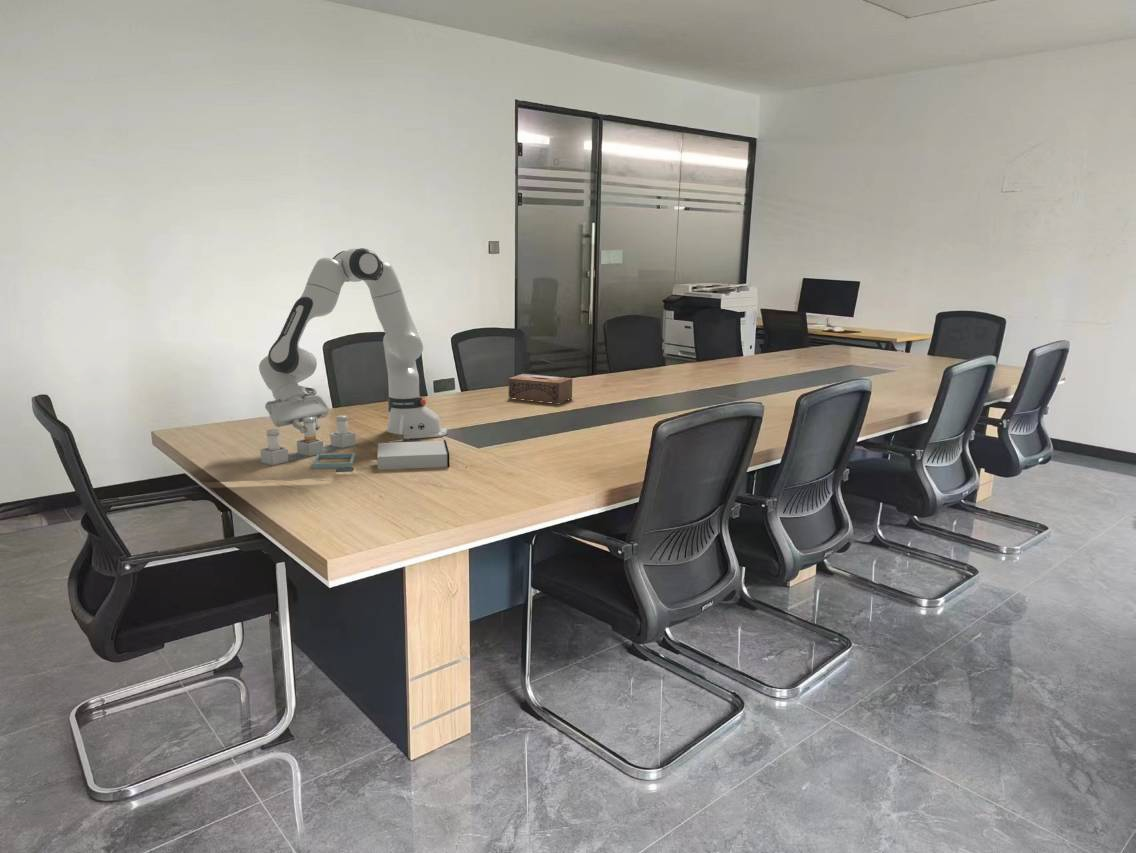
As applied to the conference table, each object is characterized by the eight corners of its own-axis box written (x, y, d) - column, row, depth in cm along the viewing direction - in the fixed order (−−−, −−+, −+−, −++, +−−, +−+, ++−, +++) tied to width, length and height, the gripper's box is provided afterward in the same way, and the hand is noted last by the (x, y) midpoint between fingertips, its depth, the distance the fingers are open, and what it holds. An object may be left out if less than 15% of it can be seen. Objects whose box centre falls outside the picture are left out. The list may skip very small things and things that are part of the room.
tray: (355, 461, 254) (355, 453, 254) (352, 471, 243) (351, 463, 242) (317, 462, 252) (316, 454, 252) (312, 472, 241) (311, 464, 240)
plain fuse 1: (282, 459, 249) (280, 429, 247) (280, 462, 246) (278, 431, 244) (269, 459, 249) (267, 429, 247) (267, 463, 245) (265, 432, 243)
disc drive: (449, 468, 250) (449, 453, 249) (377, 471, 246) (377, 456, 244) (446, 453, 267) (446, 439, 266) (378, 456, 262) (378, 442, 261)
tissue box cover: (572, 399, 364) (572, 378, 362) (559, 404, 351) (559, 383, 349) (522, 394, 374) (522, 373, 372) (508, 399, 361) (508, 378, 359)
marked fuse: (317, 445, 260) (315, 416, 258) (316, 448, 256) (314, 419, 254) (305, 446, 259) (303, 417, 257) (304, 449, 256) (302, 419, 253)
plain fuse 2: (349, 443, 271) (348, 415, 269) (348, 445, 267) (347, 417, 265) (338, 443, 270) (336, 415, 268) (336, 446, 267) (335, 417, 264)
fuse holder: (257, 466, 246) (256, 449, 245) (346, 445, 274) (345, 429, 273) (270, 470, 242) (269, 453, 241) (359, 448, 271) (358, 432, 269)
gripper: (266, 396, 249) (287, 430, 246) (319, 387, 266) (339, 419, 262) (259, 408, 253) (279, 442, 250) (311, 398, 269) (331, 430, 266)
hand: (311, 430), depth 256 cm, fingers closed on marked fuse, 4 cm apart
